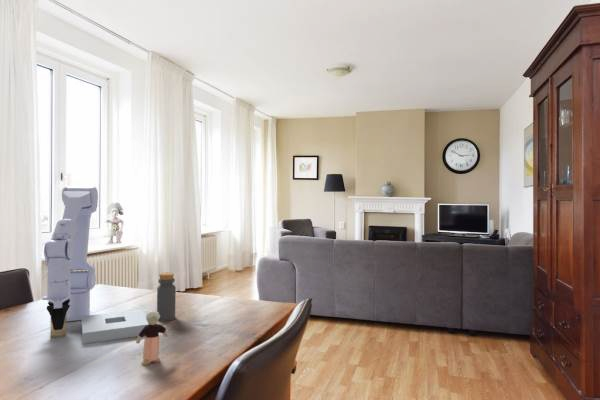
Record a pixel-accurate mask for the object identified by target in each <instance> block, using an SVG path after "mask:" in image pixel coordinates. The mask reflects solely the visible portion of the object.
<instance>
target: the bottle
mask: <svg viewBox="0 0 600 400" xmlns="http://www.w3.org/2000/svg"><path fill="white" fill-rule="evenodd" d="M174 275H175V273H173V272H161V273H159V274H158V276H159V279H158V283H159V284H160V285H158V286H157V289H156V290H157V291H156V292H157V295H156V296H157V297H156V312H158V313H159V315H160V318H159V319H158V321H161V322H167V321H168V322H169V321H172V320H174V319H176V296H177V295H176V285H174V283H175V278H174Z"/></svg>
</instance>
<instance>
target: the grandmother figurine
mask: <svg viewBox="0 0 600 400" xmlns="http://www.w3.org/2000/svg"><path fill="white" fill-rule="evenodd" d="M159 318H160V315H159V313H158V312H157V310H154V309H152V310H150V311H148V312H147V313H146V320H147V322H148V324H149V325H146V326H145V327H144V328H143V329H142V331H141V332H140V333H139V336H137V338H136V340H135V344H140V343H141V341H142V340H143V338H144V342H143V348H142V349H143V350H142V362H141V366H147V365H150V364H151V362H152V363H159V362H161V358H160V357H159V355H160V334H162V335H163V337H165V338H167V337H168V336H169V334H168V332H167V328H166V327H165V326H164V325H162V324H159V323H158V322H159V320H158V319H159ZM159 333H160V334H159Z"/></svg>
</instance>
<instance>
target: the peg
mask: <svg viewBox="0 0 600 400" xmlns="http://www.w3.org/2000/svg"><path fill="white" fill-rule="evenodd" d="M67 323H68V322H67V313H66V316H65V320H64V325H63V329H61V330H54V328H53V324H52V319H51V318H50V332H49V334H50V338H53V339H56V338H63V337H65V336H67Z"/></svg>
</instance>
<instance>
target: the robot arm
mask: <svg viewBox="0 0 600 400" xmlns="http://www.w3.org/2000/svg"><path fill="white" fill-rule="evenodd" d="M61 200H62V202H63V205H64V208H63V209H64V211H63V216H62V219H60V220H58V221H57V222H56V224H55V227H54V230H53V233H52V236H51V239H50V240H48V241H46V242H45V245H44V249H43V256H44V259H45V266H46V267H47V274H46V275H47V276H46V277H47V280H46V282H47V283H46V284H47V286H46V287H47V290H46V291H47V293H46V294H47V295H44V296H42V300H43V301H47V304H48V305H47V306H46V310H47V312H48V314H49V316H50V320H51V319H52V324H53V328H54V330H61V329H63V325H64V320H65V316H66V313H67V322H66V323H68V322H75V321H76V322H77V321H81V316H87V315H92V314H91V308H90V307H91V304H90V301H91V298H90V297H91V291H92V290H93V289H94V288H95V285H96V282H97V281H96V268H95V266H94V265H93V264H91V263H90V262H89V261H88V252H89V251H88V250H89V237H90V224H91V218H92V214H93V213H96V212H97V209H98V201H99V193H98V189H97V188H96V186H95V185H94V186H93V185H92V186H83V185H82V186H78V185H77V186H74V185H73V186H71V185H65V186H64V187H63V188H62V190H61Z"/></svg>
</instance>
